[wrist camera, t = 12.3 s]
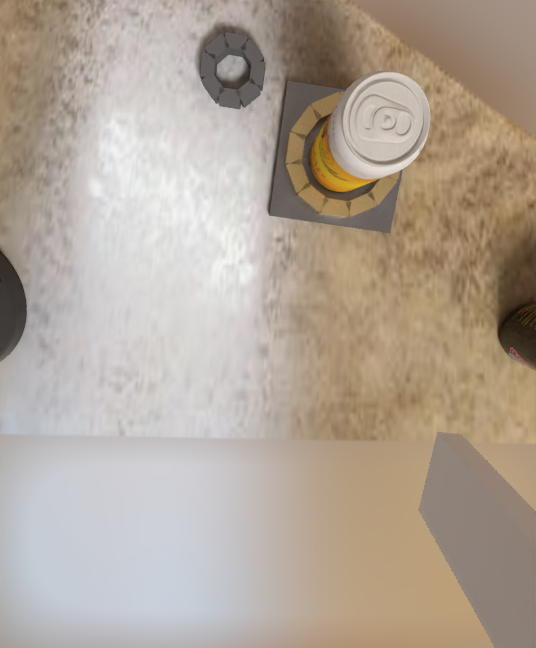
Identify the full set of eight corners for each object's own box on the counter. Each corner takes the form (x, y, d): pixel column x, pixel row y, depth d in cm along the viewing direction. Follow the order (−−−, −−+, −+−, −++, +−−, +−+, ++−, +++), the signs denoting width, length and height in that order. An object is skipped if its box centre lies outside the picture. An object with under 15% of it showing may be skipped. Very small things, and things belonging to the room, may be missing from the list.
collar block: (269, 215, 42) (269, 214, 39) (287, 83, 39) (289, 72, 36) (387, 232, 42) (396, 233, 40) (413, 103, 40) (424, 94, 37)
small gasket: (200, 102, 39) (197, 98, 38) (206, 36, 38) (204, 28, 37) (259, 112, 40) (259, 107, 38) (267, 45, 38) (268, 38, 37)
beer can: (317, 117, 39) (350, 52, 24) (380, 132, 39) (450, 77, 25) (302, 184, 40) (325, 161, 26) (363, 198, 41) (420, 183, 26)
